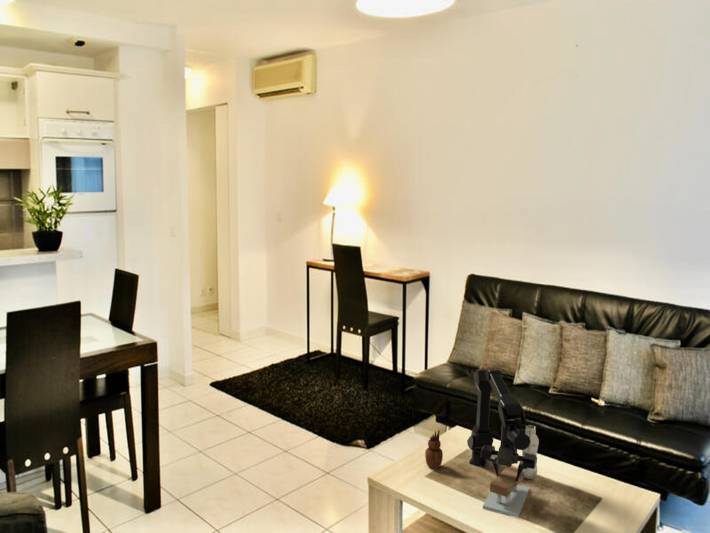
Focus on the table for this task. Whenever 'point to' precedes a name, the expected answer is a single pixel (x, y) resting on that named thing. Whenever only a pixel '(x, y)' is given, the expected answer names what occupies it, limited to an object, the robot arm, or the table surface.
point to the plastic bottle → (531, 450)
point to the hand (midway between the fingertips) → (507, 479)
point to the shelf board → (506, 481)
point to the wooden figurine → (434, 452)
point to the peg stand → (507, 501)
